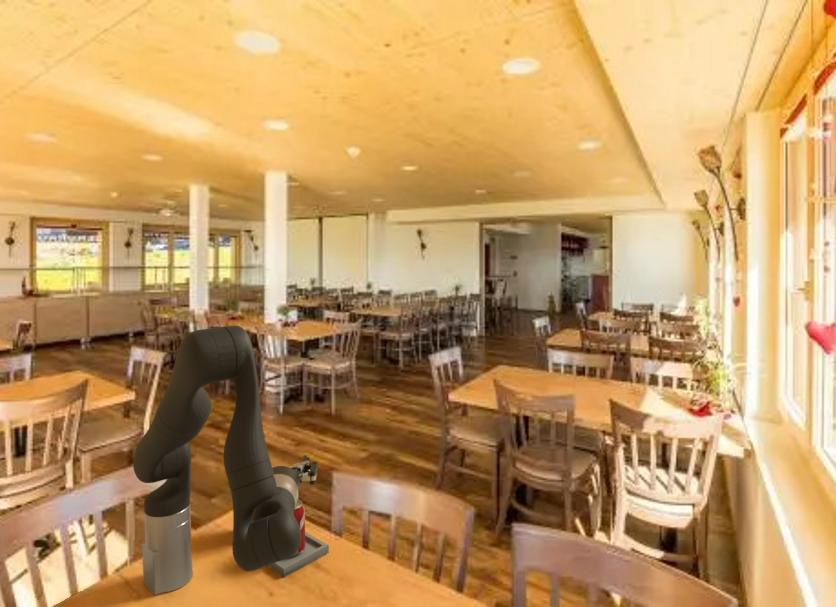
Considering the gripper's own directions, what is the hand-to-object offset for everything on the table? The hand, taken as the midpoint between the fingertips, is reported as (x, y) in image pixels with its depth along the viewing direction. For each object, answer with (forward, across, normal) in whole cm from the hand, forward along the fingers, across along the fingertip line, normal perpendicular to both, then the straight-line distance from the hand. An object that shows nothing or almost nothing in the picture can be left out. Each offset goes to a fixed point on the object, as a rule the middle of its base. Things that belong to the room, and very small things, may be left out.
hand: (285, 460), depth 114 cm
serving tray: (+10, 0, +28) cm, 30 cm away
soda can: (+10, 0, +27) cm, 29 cm away
